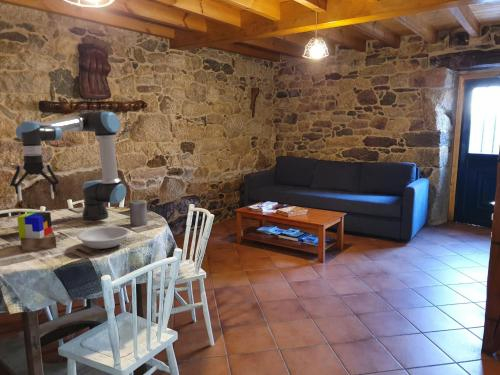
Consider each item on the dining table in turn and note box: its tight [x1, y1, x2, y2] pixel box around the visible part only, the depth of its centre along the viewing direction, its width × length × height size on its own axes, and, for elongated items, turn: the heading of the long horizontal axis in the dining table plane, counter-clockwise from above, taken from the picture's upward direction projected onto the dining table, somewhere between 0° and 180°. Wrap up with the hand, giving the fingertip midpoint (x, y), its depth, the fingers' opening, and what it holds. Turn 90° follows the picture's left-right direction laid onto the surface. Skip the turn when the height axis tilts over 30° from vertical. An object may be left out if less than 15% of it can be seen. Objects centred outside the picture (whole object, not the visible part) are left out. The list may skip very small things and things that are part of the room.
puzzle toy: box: [16, 211, 53, 239], centre depth 183 cm, size 10×10×10 cm
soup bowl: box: [76, 225, 131, 250], centre depth 185 cm, size 24×24×7 cm
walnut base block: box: [19, 229, 57, 254], centre depth 185 cm, size 14×14×6 cm
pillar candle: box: [128, 199, 148, 227], centre depth 223 cm, size 10×10×15 cm
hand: (36, 199), depth 183 cm, fingers open, 13 cm apart
